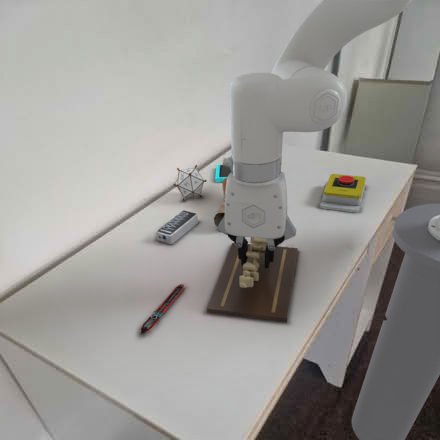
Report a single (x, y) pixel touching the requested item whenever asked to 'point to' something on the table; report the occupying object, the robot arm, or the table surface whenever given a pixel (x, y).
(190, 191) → the game die
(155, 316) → the pen
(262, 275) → the board
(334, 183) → the emergency button
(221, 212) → the mannequin hand
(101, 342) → the table surface
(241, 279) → the decorative script
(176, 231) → the multiport hub
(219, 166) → the handheld game console
